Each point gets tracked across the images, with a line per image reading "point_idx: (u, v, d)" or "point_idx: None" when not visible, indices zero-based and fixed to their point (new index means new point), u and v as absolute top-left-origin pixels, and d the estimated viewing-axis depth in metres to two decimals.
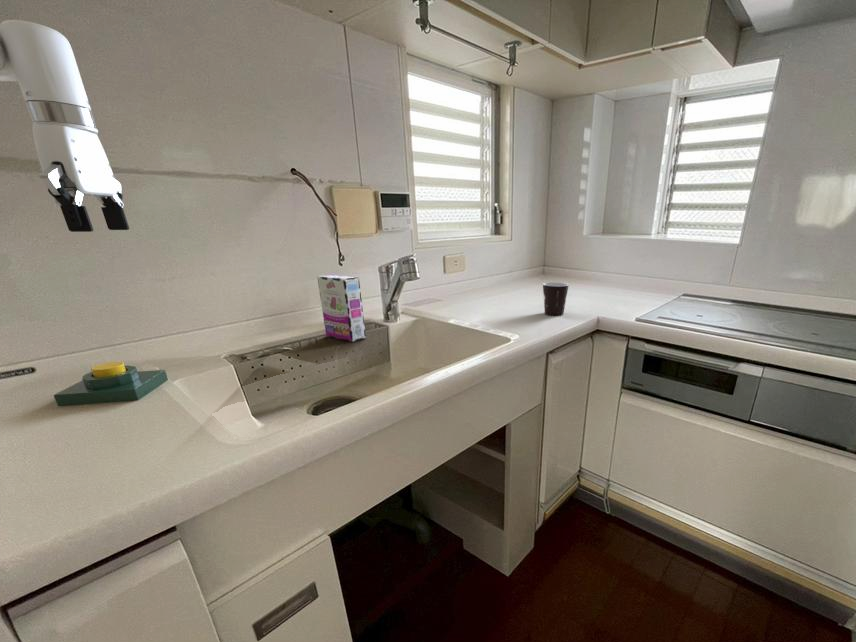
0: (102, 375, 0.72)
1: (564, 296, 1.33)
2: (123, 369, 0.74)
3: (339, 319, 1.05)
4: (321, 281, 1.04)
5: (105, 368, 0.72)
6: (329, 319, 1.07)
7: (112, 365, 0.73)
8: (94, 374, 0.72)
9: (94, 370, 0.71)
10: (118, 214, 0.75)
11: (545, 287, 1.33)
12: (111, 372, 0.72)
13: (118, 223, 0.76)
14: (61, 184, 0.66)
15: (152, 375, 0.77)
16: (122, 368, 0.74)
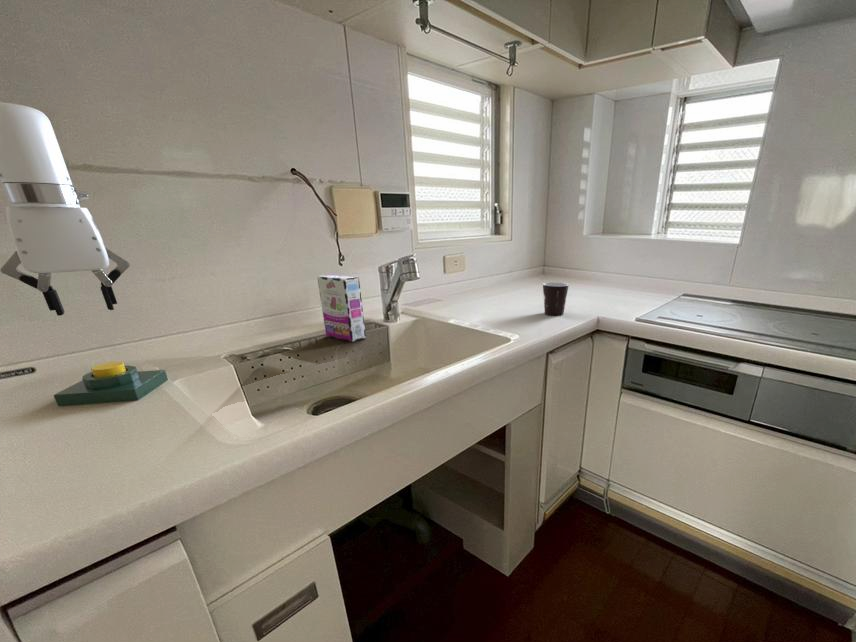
0: (102, 375, 0.72)
1: (564, 296, 1.33)
2: (123, 369, 0.74)
3: (339, 319, 1.05)
4: (321, 281, 1.04)
5: (105, 368, 0.72)
6: (329, 319, 1.07)
7: (112, 365, 0.73)
8: (94, 374, 0.72)
9: (94, 370, 0.71)
10: None
11: (545, 287, 1.33)
12: (111, 372, 0.72)
13: (106, 303, 0.70)
14: None
15: (152, 375, 0.77)
16: (122, 368, 0.74)
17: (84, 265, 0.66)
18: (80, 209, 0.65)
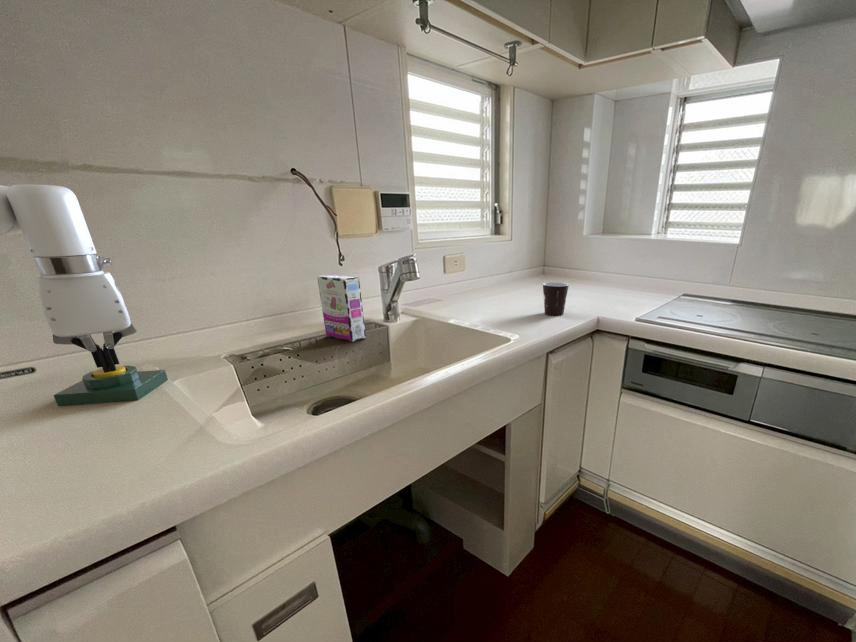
0: None
1: (564, 296, 1.33)
2: None
3: (339, 319, 1.05)
4: (321, 281, 1.04)
5: (107, 372, 0.72)
6: (329, 319, 1.07)
7: None
8: None
9: (96, 374, 0.72)
10: (105, 356, 0.72)
11: (545, 287, 1.33)
12: None
13: None
14: None
15: (152, 375, 0.77)
16: (123, 372, 0.74)
17: (107, 327, 0.70)
18: (104, 276, 0.68)
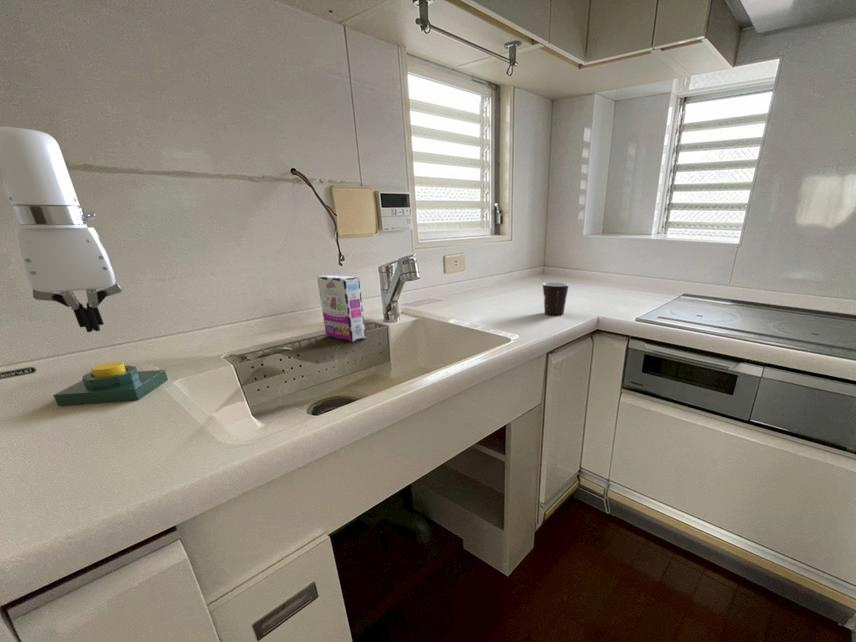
0: (102, 375, 0.72)
1: (564, 296, 1.33)
2: (123, 369, 0.74)
3: (339, 319, 1.05)
4: (321, 281, 1.04)
5: (105, 368, 0.72)
6: (329, 319, 1.07)
7: (112, 365, 0.73)
8: (94, 374, 0.72)
9: (94, 370, 0.71)
10: (88, 315, 0.69)
11: (545, 287, 1.33)
12: (111, 372, 0.72)
13: (92, 324, 0.70)
14: None
15: (152, 375, 0.77)
16: (122, 368, 0.74)
17: (91, 284, 0.67)
18: (87, 229, 0.66)
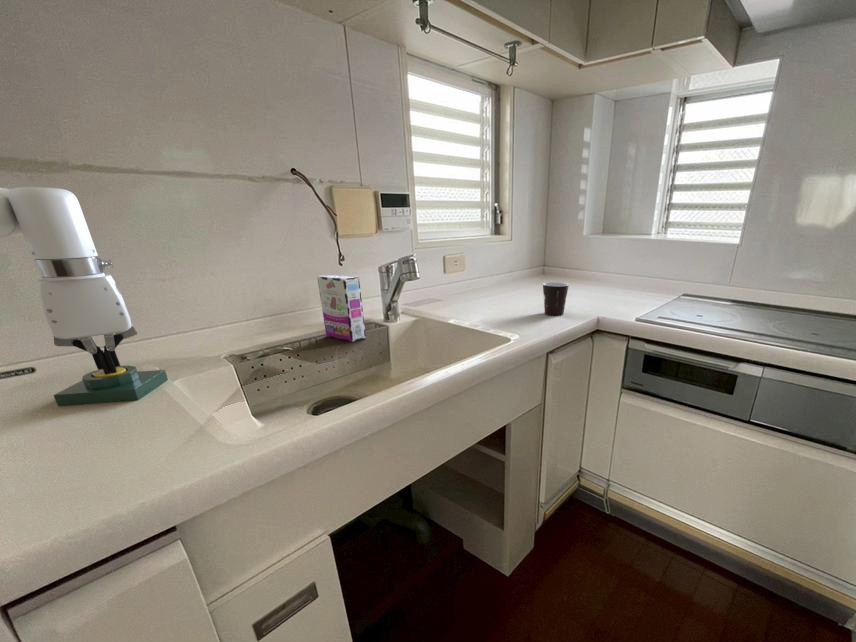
0: None
1: (564, 296, 1.33)
2: None
3: (339, 319, 1.05)
4: (321, 281, 1.04)
5: (107, 374, 0.72)
6: (329, 319, 1.07)
7: None
8: None
9: (96, 376, 0.72)
10: (106, 358, 0.72)
11: (545, 287, 1.33)
12: None
13: (109, 366, 0.73)
14: None
15: (152, 375, 0.77)
16: None
17: (108, 329, 0.70)
18: (105, 278, 0.69)
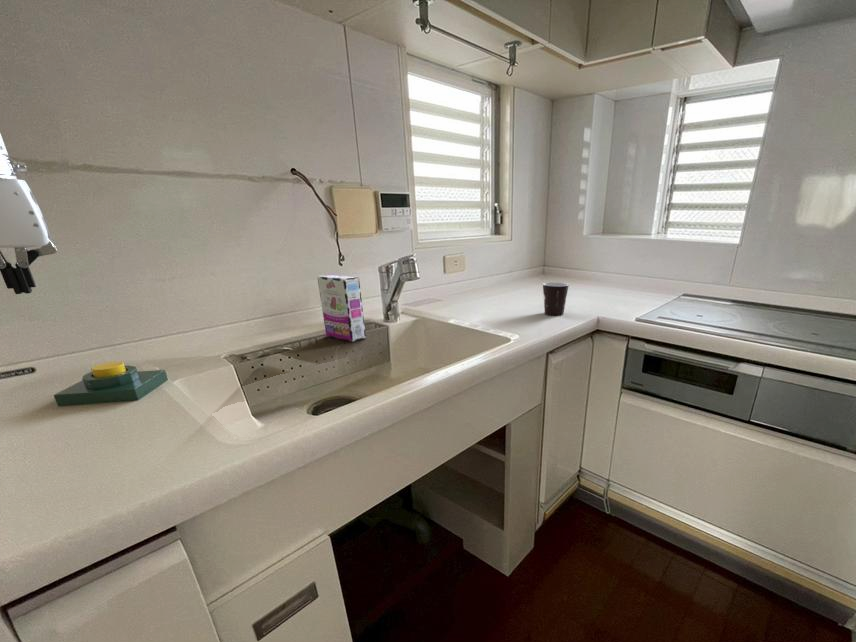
0: (102, 375, 0.72)
1: (564, 296, 1.33)
2: (123, 369, 0.74)
3: (339, 319, 1.05)
4: (321, 281, 1.04)
5: (105, 368, 0.72)
6: (329, 319, 1.07)
7: (112, 365, 0.73)
8: (94, 374, 0.72)
9: (94, 370, 0.71)
10: (17, 276, 0.64)
11: (545, 287, 1.33)
12: (111, 372, 0.72)
13: None
14: None
15: (152, 375, 0.77)
16: (122, 368, 0.74)
17: (19, 241, 0.62)
18: (15, 181, 0.60)
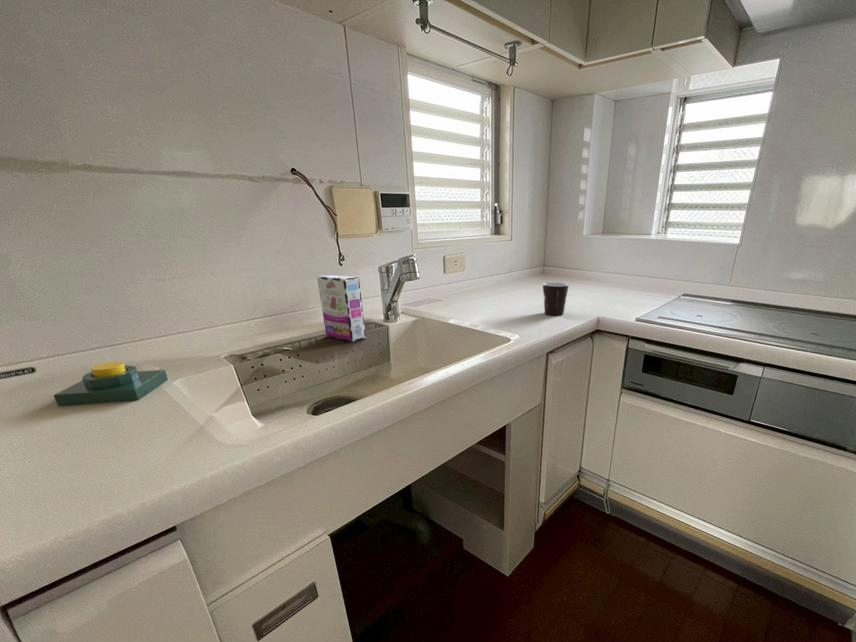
0: (102, 375, 0.72)
1: (564, 296, 1.33)
2: (123, 369, 0.74)
3: (339, 319, 1.05)
4: (321, 281, 1.04)
5: (105, 368, 0.72)
6: (329, 319, 1.07)
7: (112, 365, 0.73)
8: (94, 374, 0.72)
9: (94, 370, 0.71)
10: None
11: (545, 287, 1.33)
12: (111, 372, 0.72)
13: None
14: None
15: (152, 375, 0.77)
16: (122, 368, 0.74)
17: None
18: None
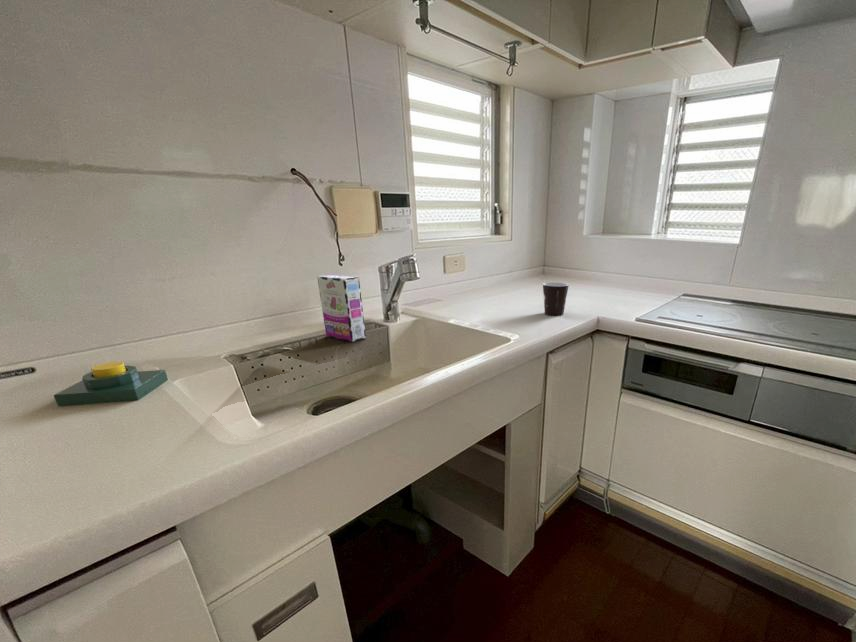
0: (102, 375, 0.72)
1: (564, 296, 1.33)
2: (123, 369, 0.74)
3: (339, 319, 1.05)
4: (321, 281, 1.04)
5: (105, 368, 0.72)
6: (329, 319, 1.07)
7: (112, 365, 0.73)
8: (94, 374, 0.72)
9: (94, 370, 0.71)
10: None
11: (545, 287, 1.33)
12: (111, 372, 0.72)
13: None
14: None
15: (152, 375, 0.77)
16: (122, 368, 0.74)
17: None
18: None
